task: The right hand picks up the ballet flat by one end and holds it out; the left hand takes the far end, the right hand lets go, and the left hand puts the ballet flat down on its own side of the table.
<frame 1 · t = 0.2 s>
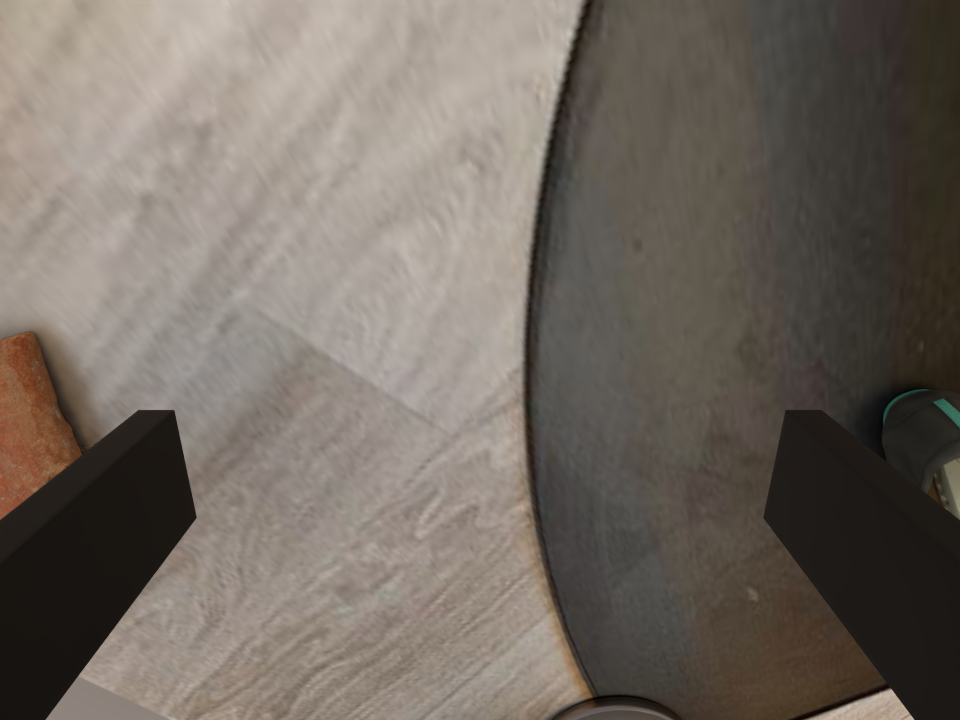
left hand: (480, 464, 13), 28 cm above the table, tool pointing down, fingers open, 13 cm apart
ballet flat: (927, 508, 46), on the table
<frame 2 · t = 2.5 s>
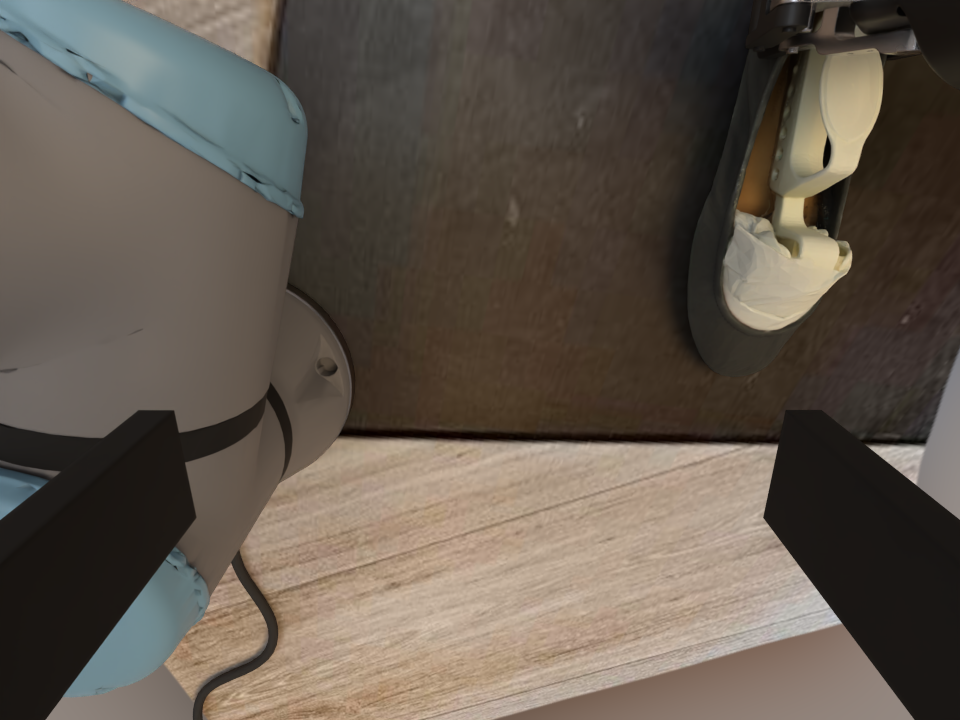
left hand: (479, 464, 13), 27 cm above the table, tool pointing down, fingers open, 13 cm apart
ballet flat: (750, 193, 37), on the table, touching right hand
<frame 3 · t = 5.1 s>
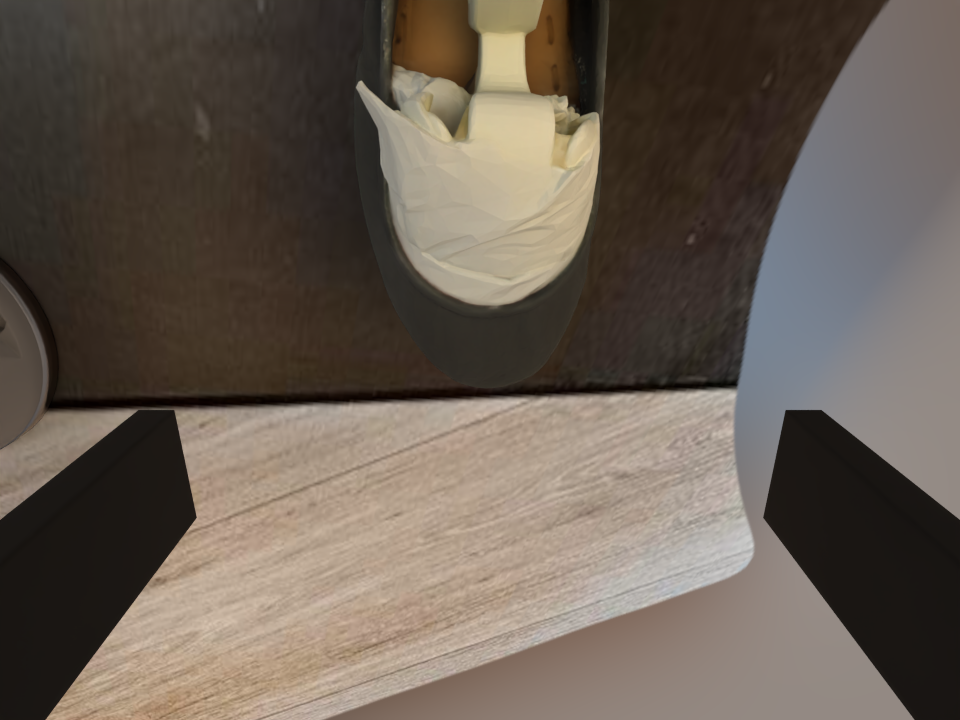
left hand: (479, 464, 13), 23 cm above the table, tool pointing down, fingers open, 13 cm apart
ballet flat: (474, 56, 20), point 11 cm above the table, touching right hand
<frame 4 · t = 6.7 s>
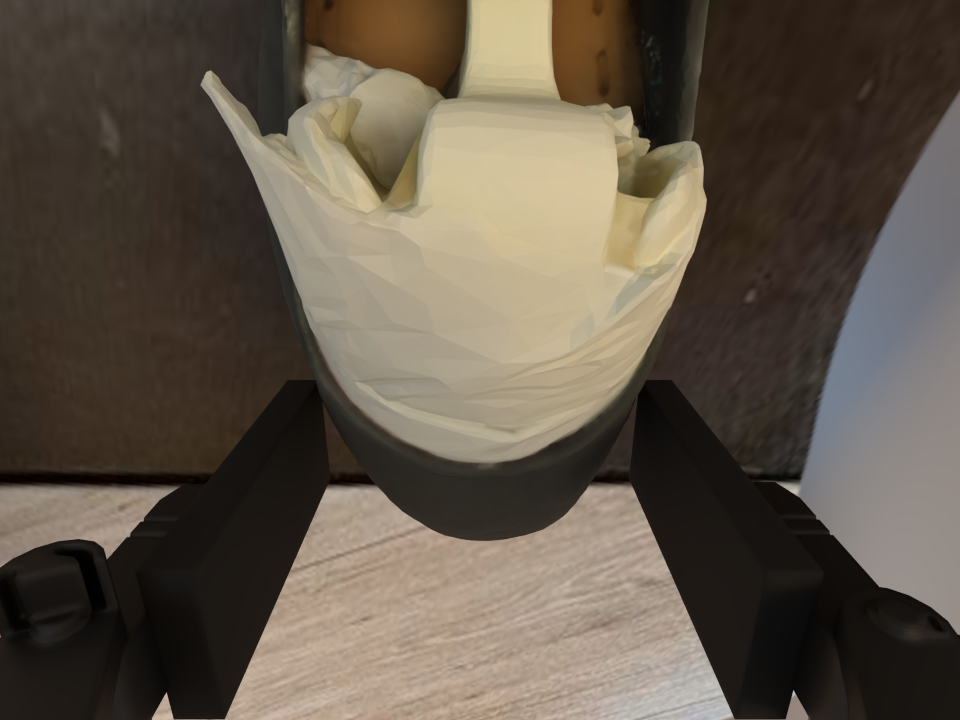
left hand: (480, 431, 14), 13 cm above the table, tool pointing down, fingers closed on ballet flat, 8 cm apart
ballet flat: (469, 38, 13), point 11 cm above the table, touching left hand, right hand
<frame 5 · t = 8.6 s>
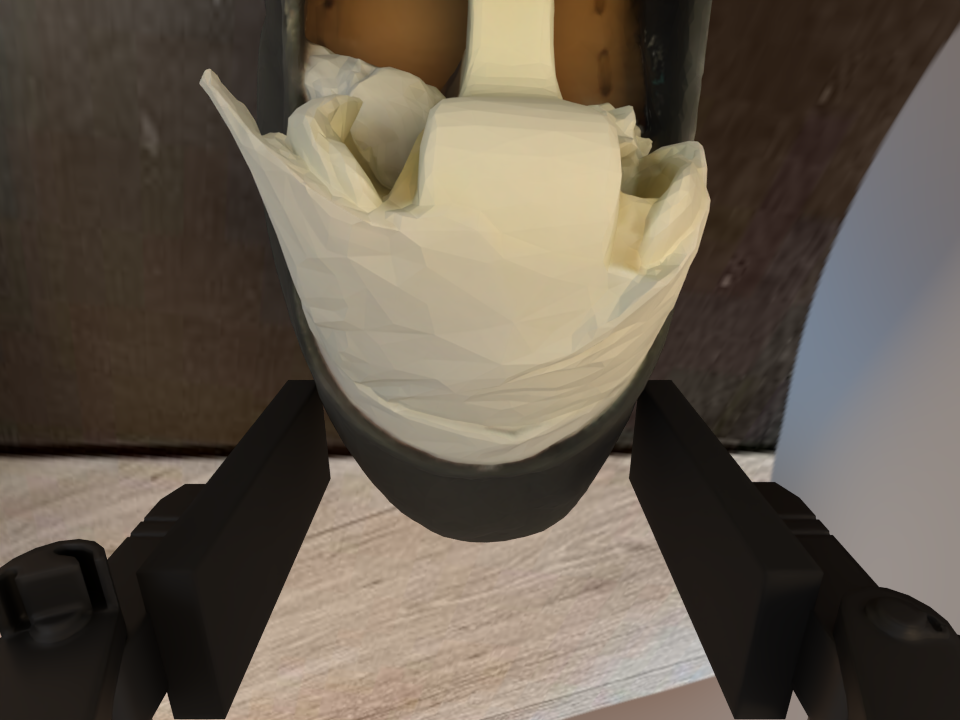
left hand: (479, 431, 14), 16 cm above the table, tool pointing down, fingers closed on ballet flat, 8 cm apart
ballet flat: (470, 37, 12), point 14 cm above the table, touching left hand
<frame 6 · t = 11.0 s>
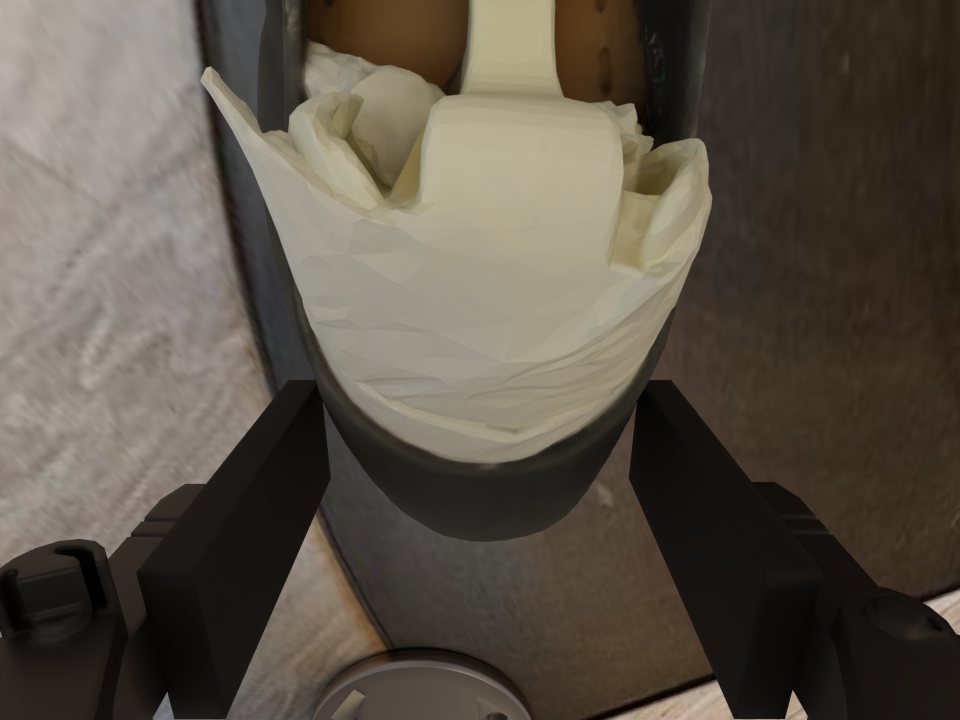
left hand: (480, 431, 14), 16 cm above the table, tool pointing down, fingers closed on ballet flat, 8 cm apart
ballet flat: (470, 36, 12), point 14 cm above the table, touching left hand
when the left hand's fingers open (2 cm above the table, at t = 15.4 s): ballet flat stays where it is, on the table.
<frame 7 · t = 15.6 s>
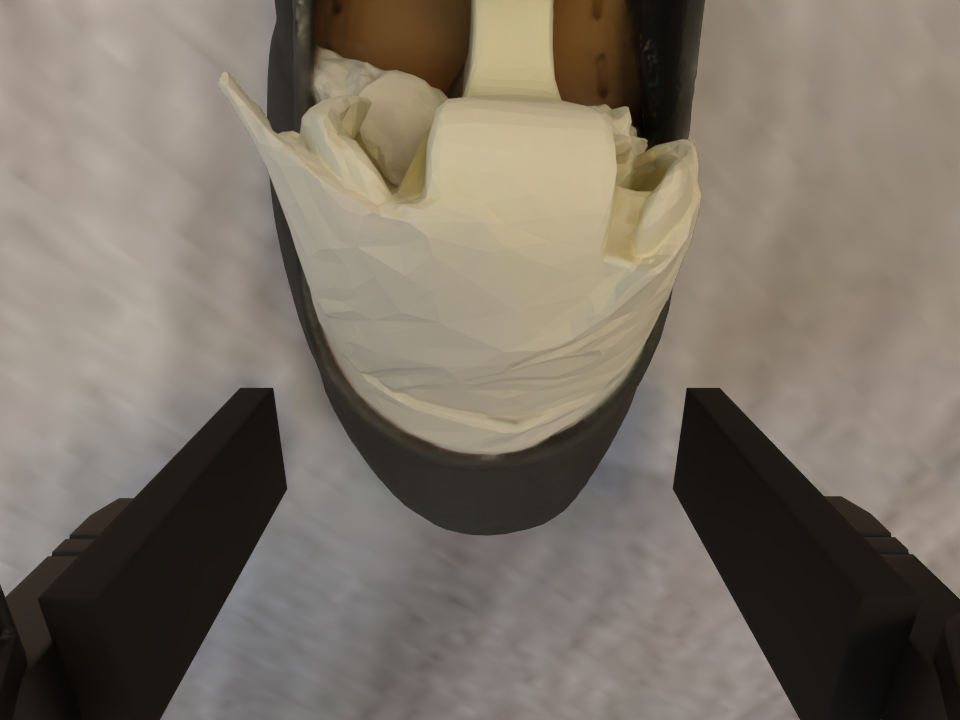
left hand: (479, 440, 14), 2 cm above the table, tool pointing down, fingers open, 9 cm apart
ballet flat: (472, 42, 13), on the table
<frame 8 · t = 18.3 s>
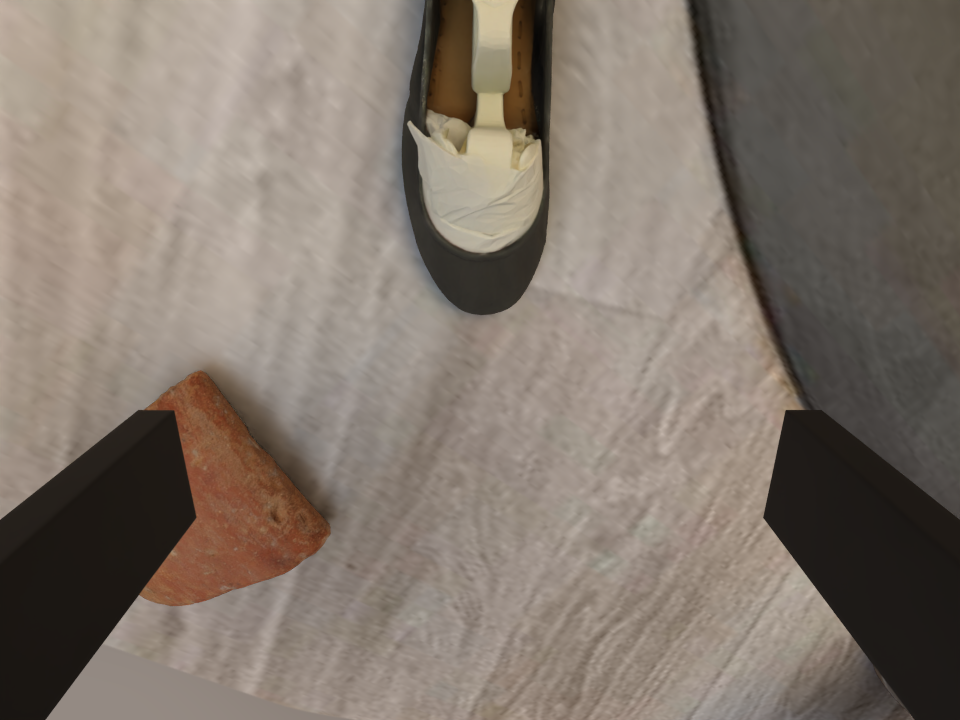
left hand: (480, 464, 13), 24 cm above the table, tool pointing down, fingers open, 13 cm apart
ceramic shard: (196, 488, 42), on the table
ballet flat: (476, 101, 32), on the table
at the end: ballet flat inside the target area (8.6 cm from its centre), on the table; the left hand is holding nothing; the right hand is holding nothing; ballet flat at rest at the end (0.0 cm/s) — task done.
